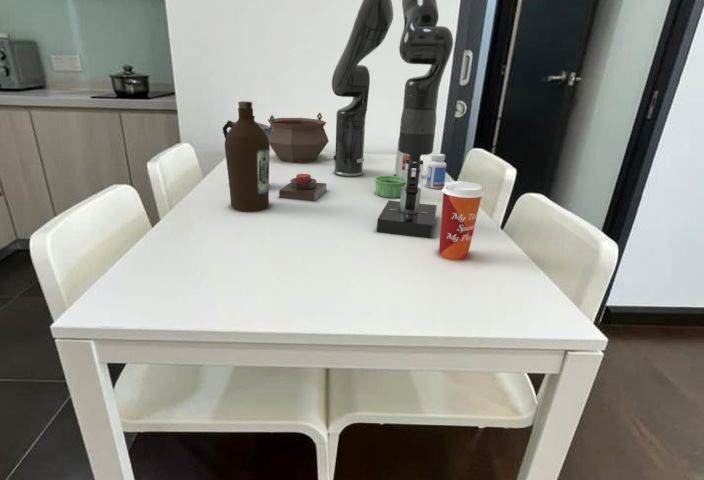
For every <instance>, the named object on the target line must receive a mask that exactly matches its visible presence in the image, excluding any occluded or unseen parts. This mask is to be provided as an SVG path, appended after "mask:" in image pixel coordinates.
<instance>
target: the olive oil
mask: <svg viewBox="0 0 704 480" xmlns="http://www.w3.org/2000/svg"><path fill="white" fill-rule="evenodd" d="M237 103H238V108H237V111H238V112H237V113H238V119H237V120H236V121H235V122H236V123H235V124H234V126H233V127H232V128H230V129H229V130H228V131H227V132H228V133H227V135H226V139H224V151H225V161H226V169H227V178H228V185H229V196H230V206H231V208H232V209H233V210H236V211H239V212H259V211H263V210H266V209H268V208H269V205H270V204H269V202H270V194H269V193H270V151H271V149H270V148H271V146H270V145H269V140H268V137H267V135H266V133H265V132H264V131H263V130H262V128H261V127H260V126H259V125H258V124H257V123H258V122H257V121H256V120H255V118H254V119H253V116H254V108H253V101H246V100H245V101H238V102H237ZM256 122H257V123H256Z"/></svg>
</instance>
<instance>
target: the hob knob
mask: <svg viewBox="0 0 704 480" xmlns="http://www.w3.org/2000/svg"><path fill="white" fill-rule="evenodd" d="M409 187H412V188H415V186H409ZM406 188H407V185H405V186H403V187H402V188H401V197H400V209H399V211H400V212H401V213H404V214H417V213H418V211H419V203H420V202H421V192H422V188H421V187H419V186H418V193H417V194H416V202H415V209H414V210H406V209H405V203H406V192H405V191H406Z"/></svg>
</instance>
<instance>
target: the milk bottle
mask: <svg viewBox="0 0 704 480" xmlns="http://www.w3.org/2000/svg"><path fill="white" fill-rule="evenodd" d="M399 137H400V135H399V136H398V138H399ZM396 148H397V149H396V159H395V171H394V172H395V173H394V176H397V177H402V178H405V174H406V170H405V162H406V160H409V157H410V155H409V154H404V153H401V152H400V151H399V139H398V140H397V147H396Z"/></svg>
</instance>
